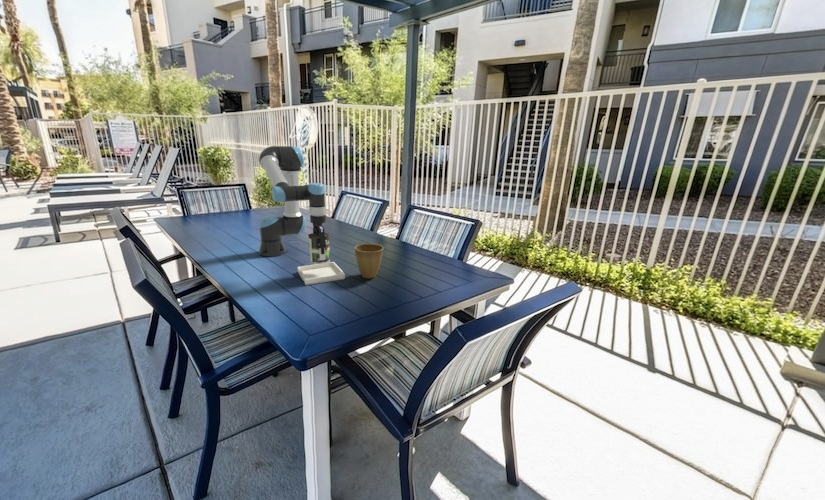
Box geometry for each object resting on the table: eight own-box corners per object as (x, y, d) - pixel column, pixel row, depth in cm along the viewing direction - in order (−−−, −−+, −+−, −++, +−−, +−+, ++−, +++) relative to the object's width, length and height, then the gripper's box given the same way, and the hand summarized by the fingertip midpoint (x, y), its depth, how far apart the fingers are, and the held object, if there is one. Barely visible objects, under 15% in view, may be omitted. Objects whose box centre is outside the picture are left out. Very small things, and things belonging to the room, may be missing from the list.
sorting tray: (297, 272, 184) (297, 266, 183) (334, 266, 193) (334, 261, 192) (305, 285, 167) (305, 279, 166) (345, 279, 177) (345, 273, 176)
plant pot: (378, 282, 174) (378, 252, 169) (351, 279, 176) (350, 250, 171) (386, 272, 187) (386, 244, 183) (360, 269, 190) (360, 242, 185)
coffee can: (334, 260, 179) (333, 234, 175) (318, 265, 171) (316, 238, 167) (321, 256, 185) (320, 231, 181) (305, 261, 177) (304, 234, 173)
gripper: (305, 211, 178) (307, 251, 185) (315, 219, 159) (318, 264, 166) (319, 210, 182) (321, 249, 188) (331, 218, 163) (333, 262, 170)
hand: (320, 256), depth 177 cm, fingers closed on coffee can, 10 cm apart
